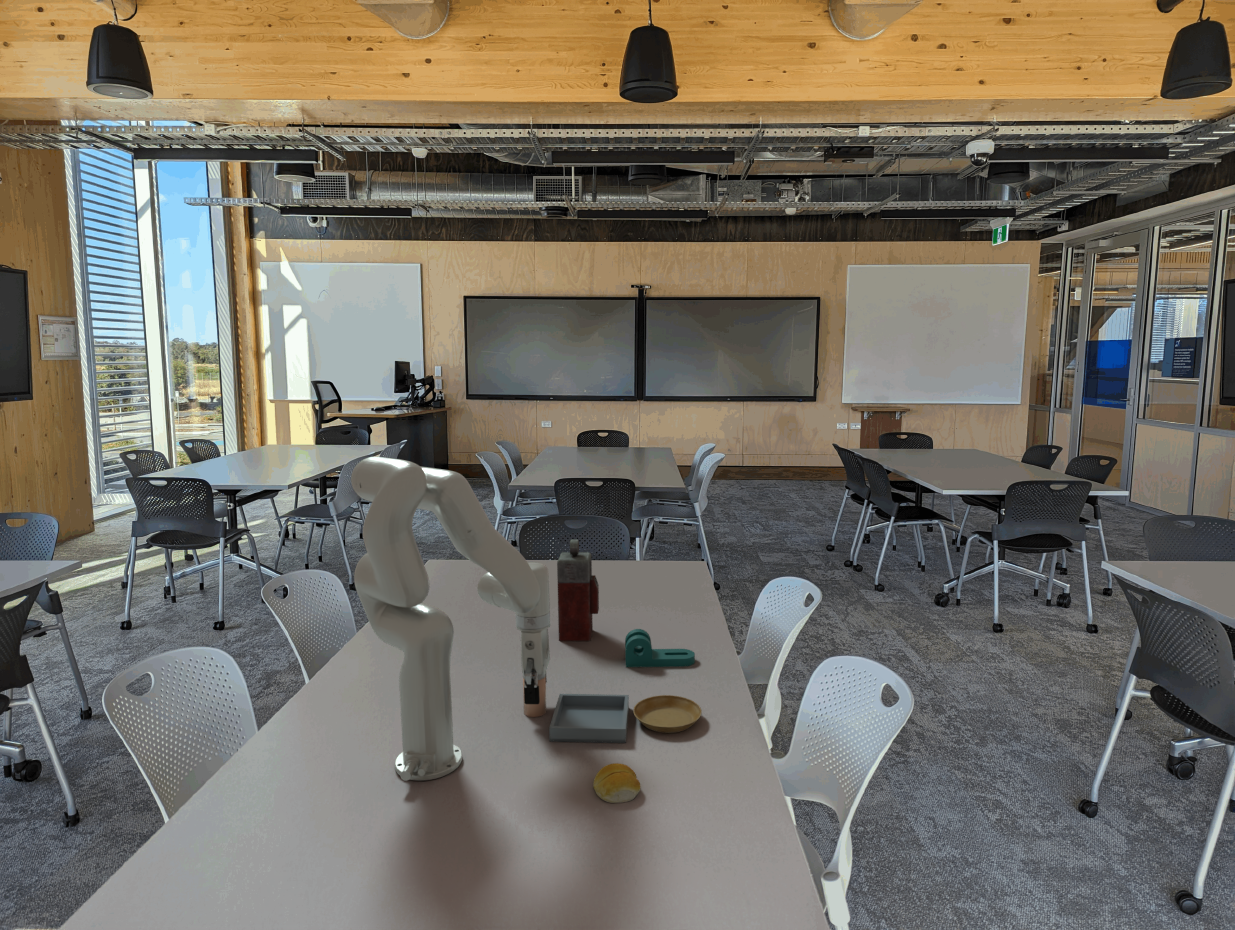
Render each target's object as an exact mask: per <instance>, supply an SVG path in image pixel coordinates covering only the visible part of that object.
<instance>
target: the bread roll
mask: <svg viewBox="0 0 1235 930" xmlns="http://www.w3.org/2000/svg"><path fill="white" fill-rule="evenodd" d="M592 783H593V790H594V791H595V794H596V795H597V797H598V798H599V799H601V800H602V801H604V802H606V803H611V804H616V803H617V804H618V803H619V804H620V803H621V804H622V803H626V802H627V803H628V802H630V801H633V800H634V799H635V798H636V797H637V796H638V794H639V793H640V791H641V783H640V780H639V779H638V778H637V774H636V772H635V771H634V769H632V768H631V767H630V766H628V765H626V764H624V763H609V764H606V765H604V766H603V767H602V768H601V769H600V770H599V771H598V772H597V773H596V774H595V777H594V779H593V782H592Z"/></svg>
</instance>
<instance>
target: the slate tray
mask: <svg viewBox="0 0 1235 930" xmlns="http://www.w3.org/2000/svg"><path fill="white" fill-rule="evenodd" d="M629 695H630V694H602V693H601V694H599V693H598V694H594V693H593V694H591V693H587V694H586V693H559V694H558V698H557V701H556V704H555V708H554V710H553V711H554V712H553V714H552V718H551V722H550V724H549V727H548V728H549V733H548V734H549V742H555V743H558V742H559V743H560V742H561V743H562V742H563V743H603V744H604V743H605V744H606V743H607V744H617V743H618V744H626V743H627V733H628V722H629V711H630V710H629V709H630V707H629V706H630V702H629V701H630V700H629V699H630V698H629V697H630V696H629Z"/></svg>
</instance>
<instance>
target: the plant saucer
mask: <svg viewBox="0 0 1235 930" xmlns="http://www.w3.org/2000/svg"><path fill="white" fill-rule="evenodd" d="M633 714H634V717H635V718H636V719H637V721H638V722H640V724H642V725H643V726H645V728H647V729H649V730H651V731H654V732H657V733H664V734H675V733H679V732H684V731H685V730H688V729H690V727H692V726H693V725H695V723H696V722H697V721H699V719H700V718H701V716H702V708H701V707H700V705H699V704H698V703H697V702H695V701H693V700H692V699H689V698H686V697H684V696H679V695H671V694H668V695H667V694H663V695H662V694H661V695H653V696H650V697H647V698H644V699H641V700H640V701H637V703H636V704H635V705H634V707H633Z"/></svg>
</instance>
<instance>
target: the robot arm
mask: <svg viewBox="0 0 1235 930" xmlns="http://www.w3.org/2000/svg"><path fill="white" fill-rule="evenodd" d="M350 476H351V477H350V482H351V486H352V488H353V491H354V492H355V494H357V496H358V497H360V498H361V499H363V500H364V501H368V502H370V503H371V505H370V507H369V508H368V511H367V514H366V516H365V519H364V521H363V527H362V538H363V543H364V546H365V550H366V553H365V554H364V555H362V557H361V558H360V559H359V560H358V562H357V564H356V566H355V570H354V574H353V577H354V578H353V579H354V586H355V590H356V593H357V596H358V598H359V600H360V603H361V605H362V608H363V609H364V612H365V615H366V618H367V620H368V622H369V625H370V627H371V629H372V630H373V632H374V634H375V636H377V638H378V639H379V640H380V641H382V642H383V643H385V644H386V645H388V646H391V647H394V648H396V649H398V650H400V651H402V652H403V654H404V655H403V661H402V664H401V665H400V666H401V667H400V670H399V676H398V688H399V701H400V703H399V704H400V717H401V718H400V719H401V721H400V724H401V725H400V726H401V742H402V743H401V744H402V752H401V753H399V755H398V756H397V757H396V759H395V761H394V769H395V772H396V773H397V775H399V776H400V778H401V780H403V781H405V782H407V781H430V780H435V779H439V778H442V777H444V776H445V777H446V776H447V775H449V774H451V773H452V772H454V771H455V770H457V769H458V767H459V766H460V765H461V763H462V762H463V761H462V760H463V752H462V750H461V748H460V747H458V745H455V744H454V731H453V730H454V729H453V727H454V726H453V725H454V724H453V702H452V681H451V680H452V678H451V677H452V676H451V656H452V650H453V649H452V648H453V644H454V643H453V642H454V635H455V630H454V628H455V627H454V624H453V622H452V620H451V618H450V616H449V615H448V614H447V613H446V612H445V611H444V610H442V609H441V608H438V607H436V606H434V605H432V604H428V603H426V602H425V600H426V598H427V597H428V594H429V592H430V588H431V587H430V585H431V583H430V579H429V575H428V572H427V571H428V570H427V569H426V566H425V563H424V561H423V558H422V555H421V553H420V551H419V550H420V549H419V547H418V544H417V542H416V541H417V540H416V539H415V535H414V532H413V519H414V516H415V513H416V512H417V509H418V510H424V511H428V512H432V514H434V515H435V517H436V518H437V520H438V522H439V523H440V525H441V527H442V528H443V530H444V531H445V532H446V533H445V534H447V536H448V539H449V540H450V542H451V543H452V545H453V546H454V548H455V550H456V551H457V552H458V553H460V555H462V556H463V557H465V559H467V560H469V561H470V562H472V563H473V564H475V565H477V566H479V567H480V568H482V569H483V570H485V571H486V572H485V573H484V574H483V575H482V576H481V577H480V578H479V580H478V582H477V586H476V591H477V595H478V596H479V598H480V599H481V600H482V602H485V603H486V604H488V605H490V606H494V607H498V608H502V609H504V610H508V611H510V612H513V613H515V628H516V630H518V631H520V661H521V662H520V663H521V666H520V667H521V674H522V676H523V675H525V680H524V701H523V703H524V702H525V704H539V702H540V698H539V686H538V675H541V676H542V675H544V674H545V672H546V673H547V670H548V667H549V663H550V660H551V653H550V652H551V651H550V638H549V637H550V636H549V628H550V627H551V601H550V599H551V598H550V575H549V573H550V572H549V569H548V566H546V565H545V564H544V563H541V562H533V561H531V562H528V561H527V560H526V558H525V557H524V555H522V553H521V552H519V550H517V548H516V547H514V546H513V545H512V544H511V543H510V541H508V540H507V539H506V538H505V536H503V535H502V534H501V532H499V531H498V530H497V529H496V528H495V527H494V525H493V524H492V522H491V521H490V518H489V517H488V515H487V513H486V512H485V510H484V508H483V506H482V504H481V502H480V501H479V499H478V497H477V496H476V494H475V492H474V490H473V489H472V487H471V486H472V485H470V483H469V481H468V480H467V479H466V477H465V476H463V474H461V473H459V472H457V471H453V470H448V469H441V468H435V467H429V466H428V467H427V466H420V465H419V464H418V463H415V462H413V461H409V460H404V459H400V458H389V457H382V456H370V457H369V456H368V457H366V458H363V459H362V460H361V461H359V462H358V463H357V464H356V465H355V467H354V468H353V469H352V472H351V475H350ZM532 671H536V672H532ZM532 676H535V681H534V679H533V678H532ZM547 680H548V679H546V683H548V682H547Z"/></svg>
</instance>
